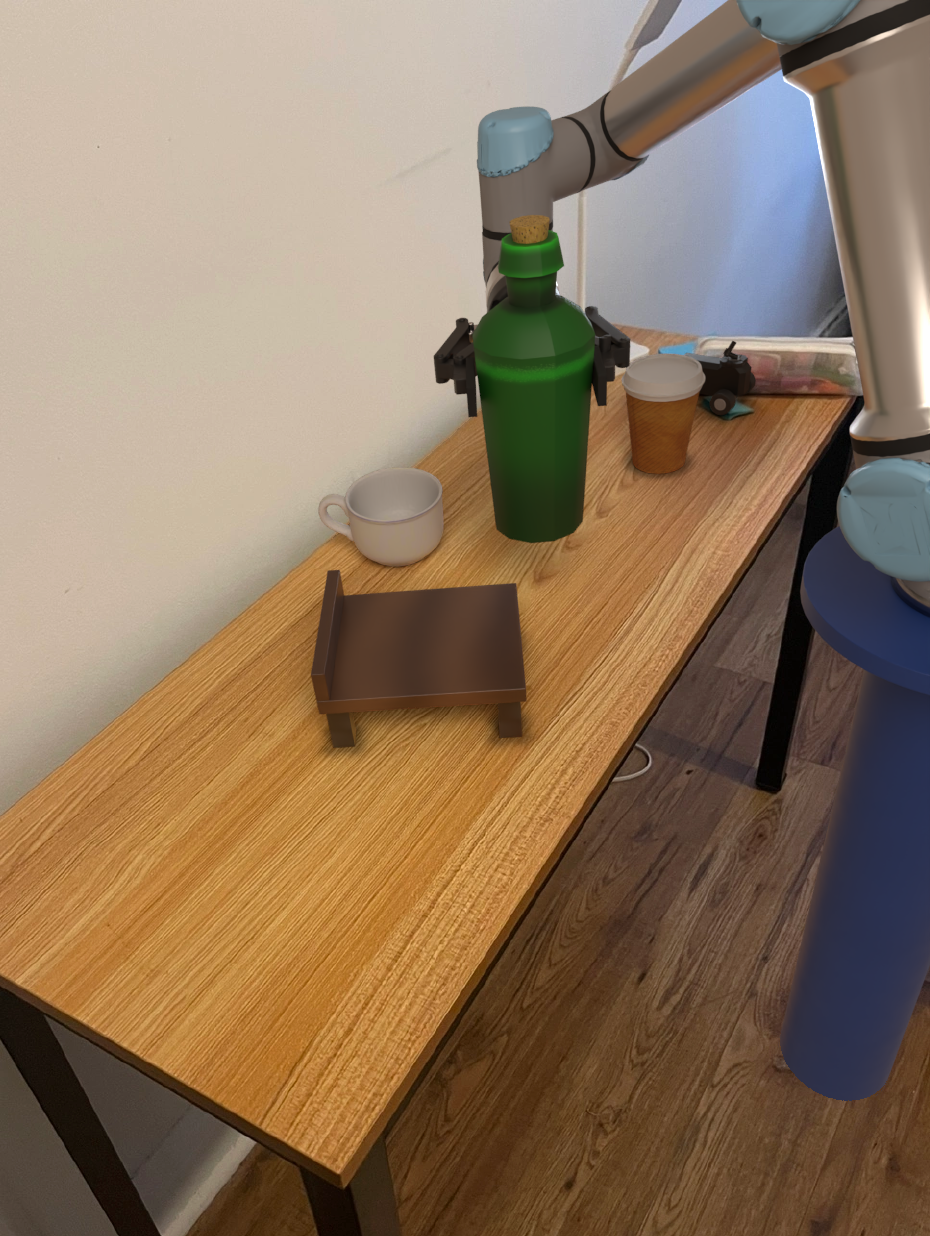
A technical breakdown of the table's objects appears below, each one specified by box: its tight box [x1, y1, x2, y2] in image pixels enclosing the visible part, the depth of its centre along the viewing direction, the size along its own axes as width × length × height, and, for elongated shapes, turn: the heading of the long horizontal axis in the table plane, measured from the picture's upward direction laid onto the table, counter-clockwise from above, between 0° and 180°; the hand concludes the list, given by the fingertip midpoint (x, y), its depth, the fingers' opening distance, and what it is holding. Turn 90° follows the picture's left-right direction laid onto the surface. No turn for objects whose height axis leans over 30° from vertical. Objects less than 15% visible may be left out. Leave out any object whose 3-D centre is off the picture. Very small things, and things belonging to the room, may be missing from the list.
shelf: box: [310, 569, 528, 749], centre depth 94 cm, size 18×16×9 cm
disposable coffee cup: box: [621, 353, 705, 475], centre depth 122 cm, size 10×10×12 cm
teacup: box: [317, 466, 445, 568], centre depth 114 cm, size 14×11×8 cm
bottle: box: [472, 215, 595, 544], centre depth 91 cm, size 11×11×28 cm
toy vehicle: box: [683, 340, 757, 416], centre depth 135 cm, size 8×15×9 cm, turn 53°
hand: (536, 396), depth 87 cm, fingers closed on bottle, 10 cm apart
